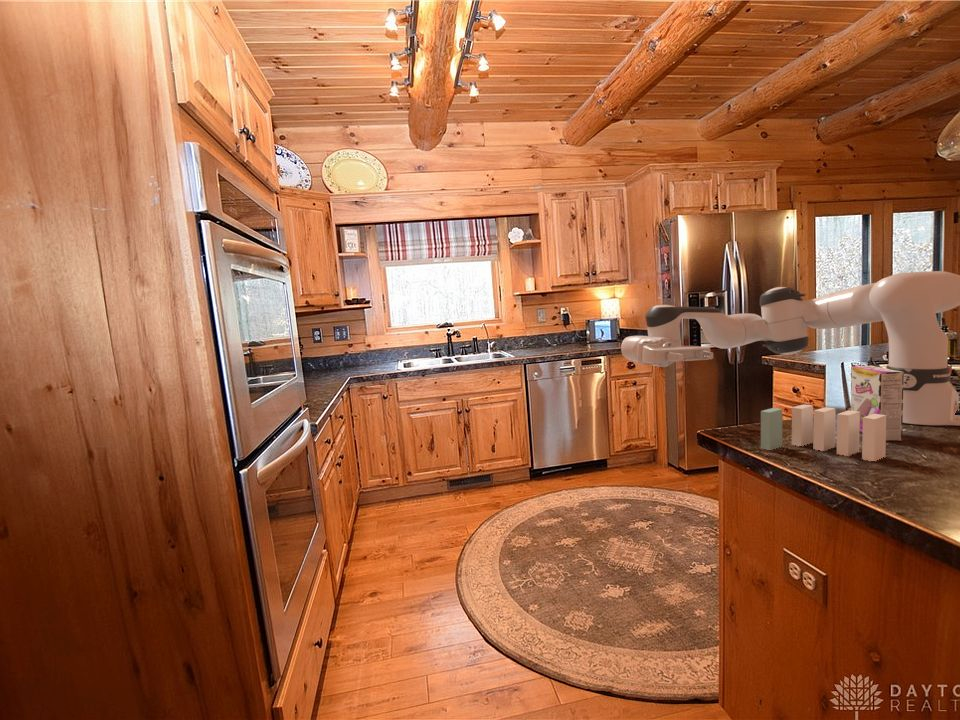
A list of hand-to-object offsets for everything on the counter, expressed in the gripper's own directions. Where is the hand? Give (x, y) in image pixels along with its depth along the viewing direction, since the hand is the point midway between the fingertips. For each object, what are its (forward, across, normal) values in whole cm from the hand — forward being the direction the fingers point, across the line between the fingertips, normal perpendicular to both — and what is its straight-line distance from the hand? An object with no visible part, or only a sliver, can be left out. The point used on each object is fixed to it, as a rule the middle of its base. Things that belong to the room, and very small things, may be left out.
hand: (698, 356), depth 119 cm
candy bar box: (+26, -30, -18) cm, 44 cm away
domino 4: (+31, -11, -18) cm, 38 cm away
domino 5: (+36, -12, -18) cm, 42 cm away
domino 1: (+21, -2, -19) cm, 29 cm away
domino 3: (+27, -11, -19) cm, 34 cm away
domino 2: (+22, -10, -19) cm, 31 cm away
